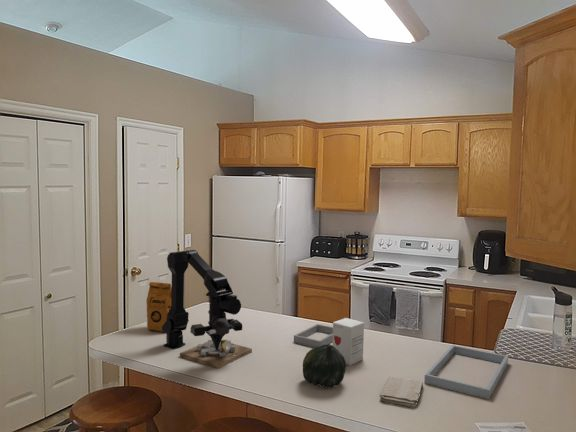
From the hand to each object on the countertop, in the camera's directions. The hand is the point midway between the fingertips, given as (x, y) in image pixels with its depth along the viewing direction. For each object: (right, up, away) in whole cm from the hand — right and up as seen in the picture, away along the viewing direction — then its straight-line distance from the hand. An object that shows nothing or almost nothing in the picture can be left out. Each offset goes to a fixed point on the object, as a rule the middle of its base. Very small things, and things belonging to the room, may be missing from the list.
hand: (216, 349), depth 180 cm
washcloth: (+64, -9, -23) cm, 69 cm away
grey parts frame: (+40, -3, +29) cm, 50 cm away
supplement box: (+50, -6, +6) cm, 51 cm away
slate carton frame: (+93, -7, -6) cm, 93 cm away
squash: (+39, -7, -16) cm, 43 cm away
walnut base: (-1, -4, +9) cm, 10 cm away
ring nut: (-1, -3, +9) cm, 10 cm away
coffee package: (-31, -2, +39) cm, 50 cm away
